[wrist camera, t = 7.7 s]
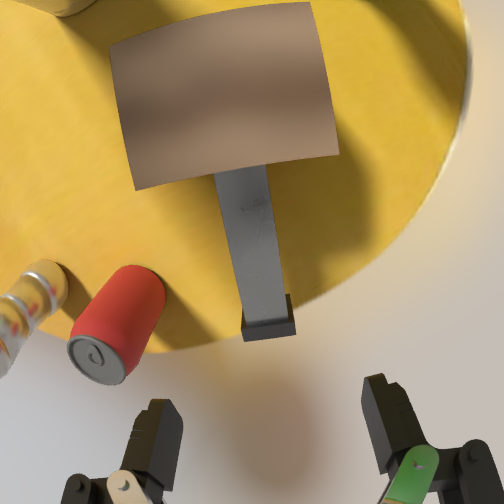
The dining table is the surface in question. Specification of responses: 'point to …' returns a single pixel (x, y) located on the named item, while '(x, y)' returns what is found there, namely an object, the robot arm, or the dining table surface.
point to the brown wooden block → (223, 93)
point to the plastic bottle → (29, 307)
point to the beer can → (117, 325)
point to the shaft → (255, 253)
